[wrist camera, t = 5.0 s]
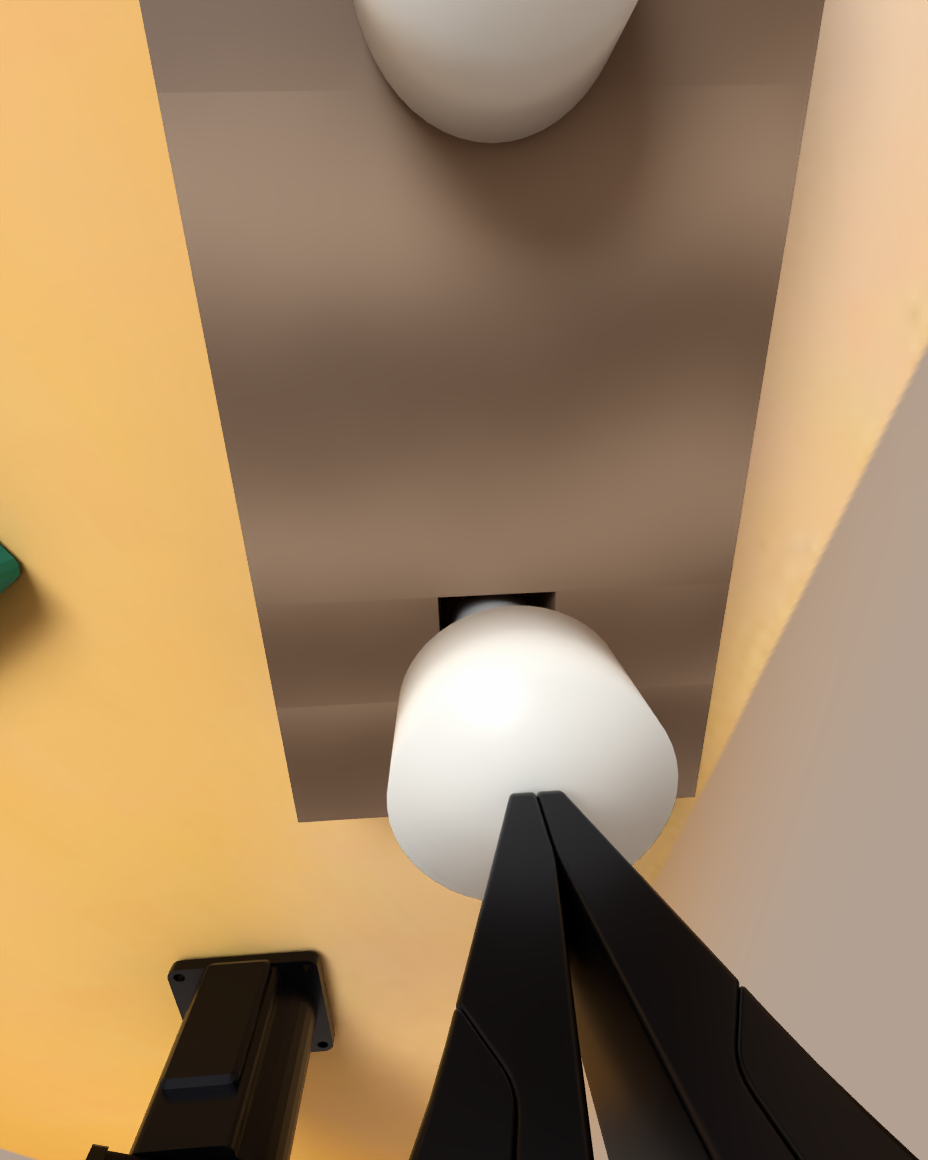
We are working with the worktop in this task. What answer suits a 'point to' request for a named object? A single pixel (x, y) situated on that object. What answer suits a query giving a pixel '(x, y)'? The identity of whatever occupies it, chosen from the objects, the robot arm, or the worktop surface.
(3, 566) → the digital multimeter
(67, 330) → the worktop surface
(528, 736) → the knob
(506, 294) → the brown wooden board
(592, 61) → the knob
